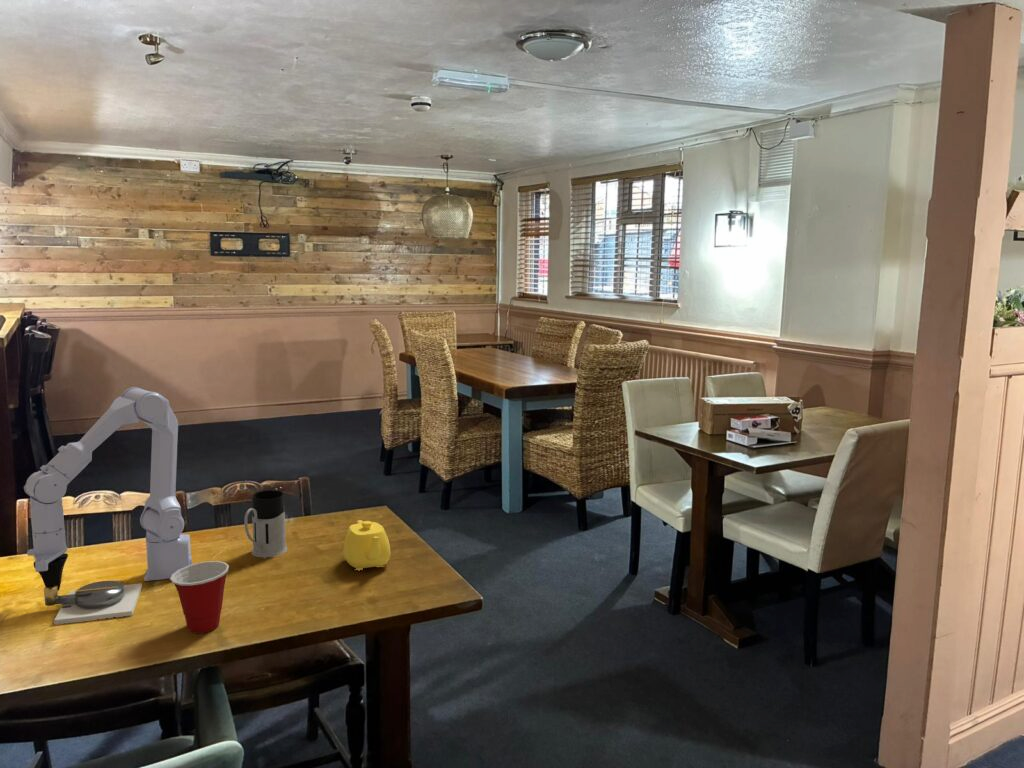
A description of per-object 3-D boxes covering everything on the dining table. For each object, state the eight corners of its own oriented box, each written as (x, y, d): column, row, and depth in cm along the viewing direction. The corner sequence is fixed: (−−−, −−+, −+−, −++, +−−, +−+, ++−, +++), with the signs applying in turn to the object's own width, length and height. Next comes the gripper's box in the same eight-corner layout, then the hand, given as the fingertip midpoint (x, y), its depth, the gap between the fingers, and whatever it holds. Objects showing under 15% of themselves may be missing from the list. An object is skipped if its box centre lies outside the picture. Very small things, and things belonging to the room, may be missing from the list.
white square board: (141, 587, 166) (141, 582, 166) (132, 615, 153) (131, 610, 153) (70, 595, 162) (70, 590, 161) (54, 624, 149) (54, 619, 148)
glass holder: (294, 547, 191) (292, 491, 189) (263, 568, 178) (261, 508, 176) (264, 543, 194) (262, 488, 191) (231, 564, 180) (228, 504, 178)
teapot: (400, 575, 176) (400, 532, 174) (354, 583, 171) (353, 538, 169) (379, 548, 192) (379, 509, 190) (337, 555, 187) (336, 514, 185)
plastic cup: (184, 614, 154) (181, 559, 152) (237, 613, 155) (235, 558, 153) (164, 640, 143) (161, 581, 142) (222, 639, 144) (219, 581, 142)
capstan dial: (127, 587, 163) (126, 572, 162) (119, 605, 154) (118, 589, 154) (51, 594, 158) (50, 579, 158) (38, 613, 150) (37, 597, 149)
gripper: (36, 519, 159) (40, 578, 162) (15, 543, 146) (21, 608, 148) (73, 516, 162) (77, 575, 164) (56, 539, 148) (61, 603, 150)
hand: (53, 590), depth 156 cm, fingers closed
